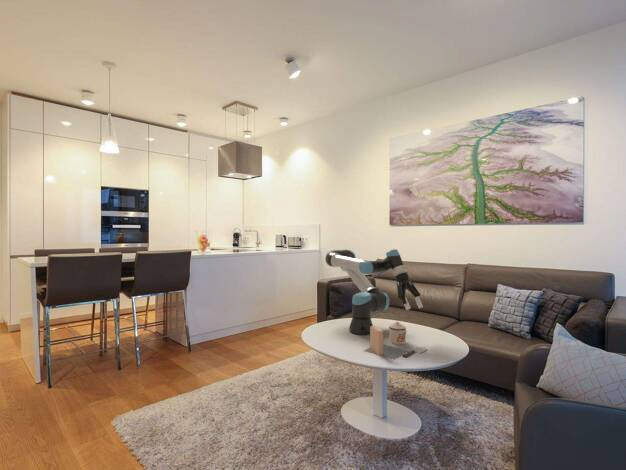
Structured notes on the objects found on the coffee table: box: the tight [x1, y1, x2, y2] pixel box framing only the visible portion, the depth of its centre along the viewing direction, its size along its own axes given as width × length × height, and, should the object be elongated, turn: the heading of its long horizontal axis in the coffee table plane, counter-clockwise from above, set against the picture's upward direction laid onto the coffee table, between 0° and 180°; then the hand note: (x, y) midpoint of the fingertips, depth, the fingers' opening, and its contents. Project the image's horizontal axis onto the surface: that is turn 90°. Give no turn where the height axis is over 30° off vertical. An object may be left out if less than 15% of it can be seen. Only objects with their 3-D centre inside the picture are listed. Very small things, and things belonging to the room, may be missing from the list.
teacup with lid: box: [388, 321, 407, 345], centre depth 195 cm, size 12×9×12 cm
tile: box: [369, 325, 384, 356], centre depth 177 cm, size 3×9×12 cm, turn 18°
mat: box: [363, 343, 410, 360], centre depth 179 cm, size 18×16×1 cm
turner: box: [402, 346, 428, 359], centre depth 177 cm, size 20×6×2 cm, turn 138°
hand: (414, 308), depth 199 cm, fingers open, 13 cm apart
